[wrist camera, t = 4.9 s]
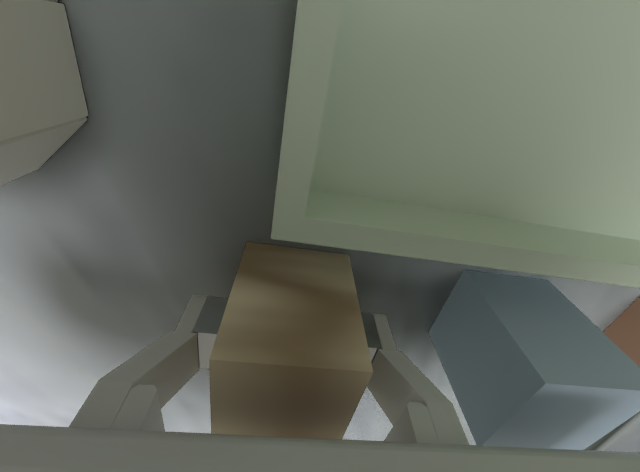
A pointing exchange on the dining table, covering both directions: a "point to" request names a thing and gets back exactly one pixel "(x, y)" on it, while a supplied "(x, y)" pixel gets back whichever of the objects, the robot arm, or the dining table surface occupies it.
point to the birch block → (289, 346)
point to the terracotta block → (627, 332)
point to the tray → (467, 133)
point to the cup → (36, 85)
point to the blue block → (531, 365)
